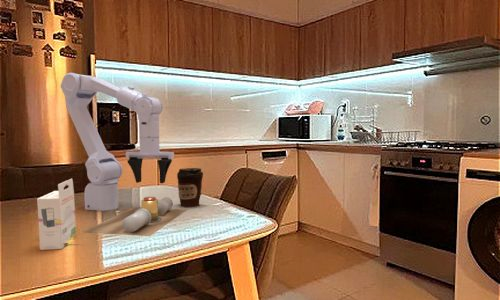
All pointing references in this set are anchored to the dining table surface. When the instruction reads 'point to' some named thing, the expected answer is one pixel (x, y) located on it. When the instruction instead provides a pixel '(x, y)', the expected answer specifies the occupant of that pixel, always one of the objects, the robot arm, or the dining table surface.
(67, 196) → the ink box
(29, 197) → the dining table surface
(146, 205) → the tan red-topped cylinder
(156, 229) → the board
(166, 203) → the pipe stubs
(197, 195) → the coffee cup
